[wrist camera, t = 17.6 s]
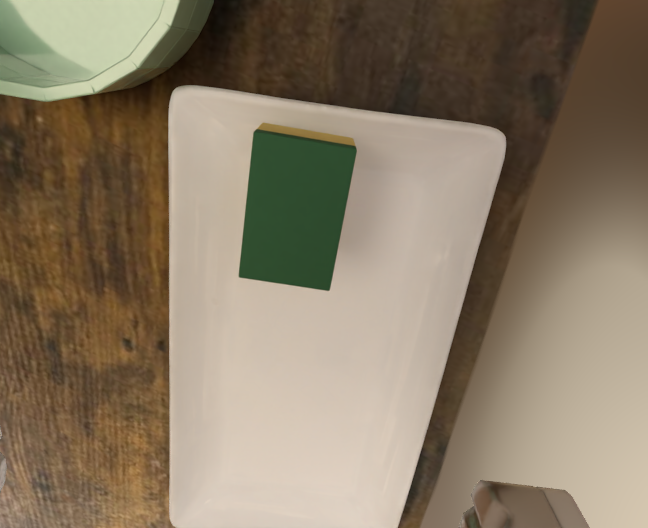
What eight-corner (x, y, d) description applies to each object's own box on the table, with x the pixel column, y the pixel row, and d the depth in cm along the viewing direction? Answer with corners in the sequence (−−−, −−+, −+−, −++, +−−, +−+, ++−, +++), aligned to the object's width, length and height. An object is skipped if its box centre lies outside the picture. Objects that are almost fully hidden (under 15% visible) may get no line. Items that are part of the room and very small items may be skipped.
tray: (178, 494, 38) (165, 535, 35) (185, 76, 25) (164, 80, 22) (386, 515, 39) (391, 556, 36) (492, 120, 26) (516, 130, 23)
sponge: (261, 122, 23) (253, 131, 20) (353, 137, 23) (357, 149, 20) (247, 254, 26) (238, 278, 23) (329, 266, 26) (329, 291, 23)
